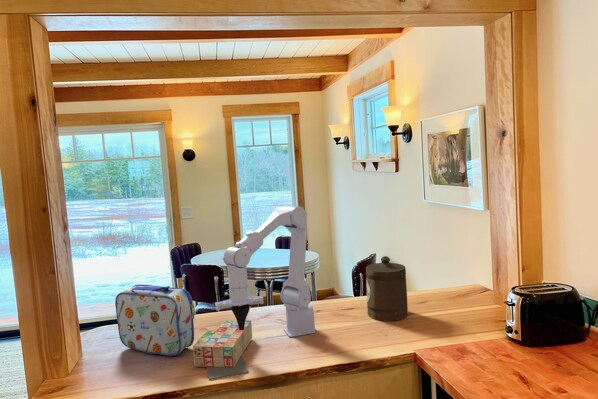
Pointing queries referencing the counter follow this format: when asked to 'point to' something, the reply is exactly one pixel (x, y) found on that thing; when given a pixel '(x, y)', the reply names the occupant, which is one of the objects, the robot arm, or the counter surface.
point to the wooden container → (386, 290)
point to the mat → (227, 370)
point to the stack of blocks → (222, 345)
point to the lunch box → (155, 319)
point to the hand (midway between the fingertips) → (241, 329)
